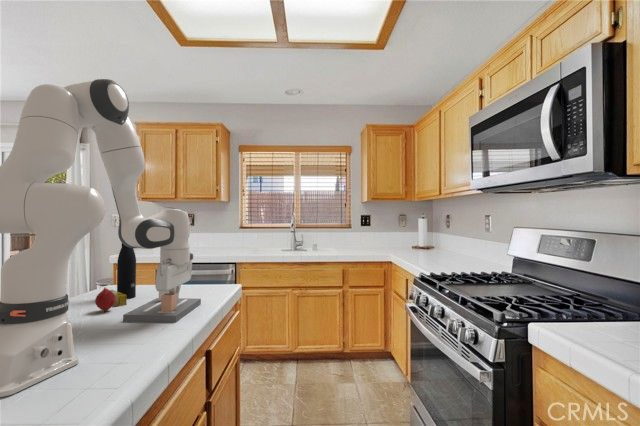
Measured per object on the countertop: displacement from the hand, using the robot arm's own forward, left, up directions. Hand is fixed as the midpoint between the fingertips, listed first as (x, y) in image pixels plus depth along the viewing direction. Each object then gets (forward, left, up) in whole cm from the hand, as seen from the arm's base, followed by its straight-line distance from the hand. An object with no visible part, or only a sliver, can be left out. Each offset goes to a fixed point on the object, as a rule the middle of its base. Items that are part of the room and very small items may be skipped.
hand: (174, 299), depth 117 cm
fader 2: (-4, 0, -2) cm, 4 cm away
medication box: (+13, +27, -5) cm, 30 cm away
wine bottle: (+22, +28, -5) cm, 35 cm away
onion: (+2, +24, -5) cm, 24 cm away
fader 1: (+10, +7, -2) cm, 12 cm away
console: (+2, +4, -4) cm, 6 cm away
